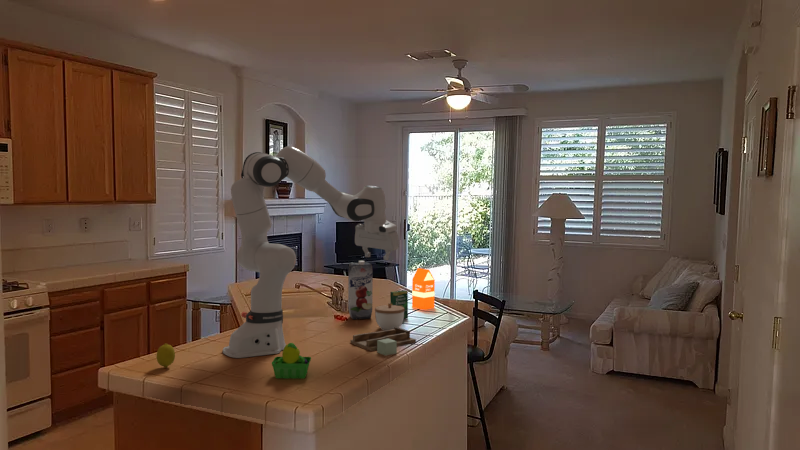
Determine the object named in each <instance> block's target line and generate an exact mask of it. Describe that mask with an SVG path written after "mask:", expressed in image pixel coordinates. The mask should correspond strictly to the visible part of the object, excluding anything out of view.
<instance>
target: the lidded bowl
mask: <svg viewBox="0 0 800 450" xmlns="http://www.w3.org/2000/svg"><path fill="white" fill-rule="evenodd" d="M374 311H375V312H374V315H375V316H374V317H375V321H376V323H377V325H378V327H379V328H380V329H381V331H385V330H391V329H394V327H398V328H401V326H402V324H403V322H404V320H405V319H404V307H402V306H397V305H391V302H389V303H388V304H384V305H383V304H382V305H379V306H375V308H374Z"/></svg>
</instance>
